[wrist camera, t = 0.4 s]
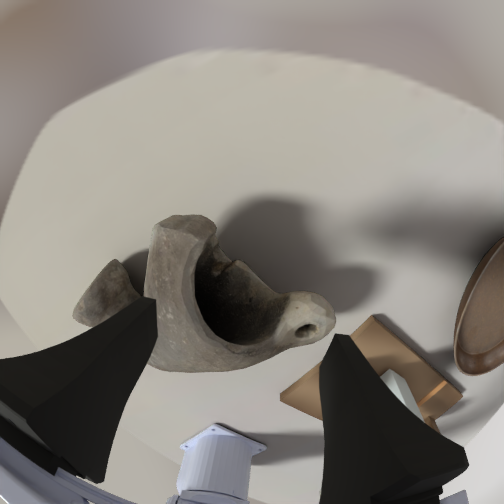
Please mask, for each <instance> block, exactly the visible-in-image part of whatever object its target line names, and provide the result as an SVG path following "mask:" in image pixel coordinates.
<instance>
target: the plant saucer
mask: <svg viewBox="0 0 504 504" xmlns="http://www.w3.org/2000/svg"><path fill="white" fill-rule="evenodd" d="M454 358H455V363H456V366H457V367H458V369H459V370H460V371H461V372H462V373H463V374H465V375H468V376H478V375H482V374H485V373H488V372H490V371H492V370H494V369H495V368H497V367H498V366H500V365H501V364H503V363H504V237H503V238H502V239H501V240H499V241H498V242H497V243H496V244H495V245H494V246H493V247H492V248H491V249H490V250H489V251H488V252H487V254H486V255H485V256H484V257H483V259H482V260H481V262H480V263H479V265H478V266H477V268H476V270H475V271H474V273H473V275H472V277H471V279H470V281H469V283H468V285H467V287H466V289H465V292H464V294H463V297H462V299H461V302H460V306H459V309H458V313H457V318H456V323H455V330H454Z"/></svg>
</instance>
